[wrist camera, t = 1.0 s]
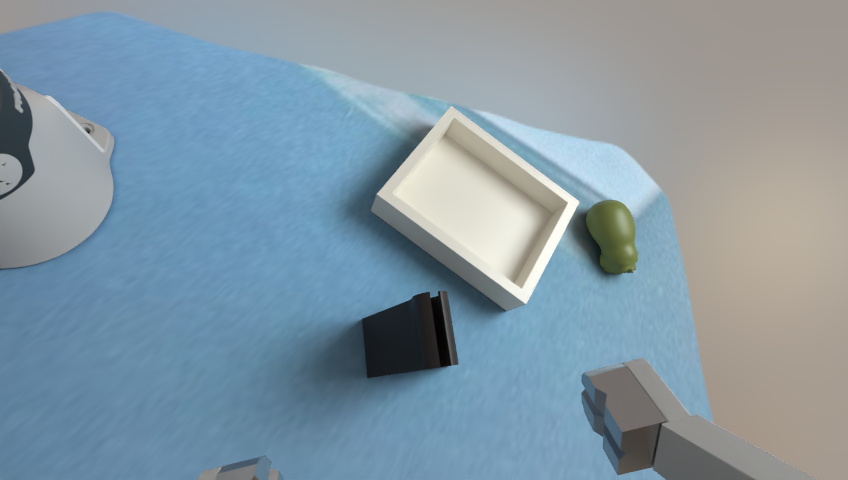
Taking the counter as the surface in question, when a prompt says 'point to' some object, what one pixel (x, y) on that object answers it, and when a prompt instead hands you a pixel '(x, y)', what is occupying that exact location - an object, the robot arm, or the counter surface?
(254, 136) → the counter surface
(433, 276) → the counter surface
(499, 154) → the tray
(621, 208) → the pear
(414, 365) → the phone stand
